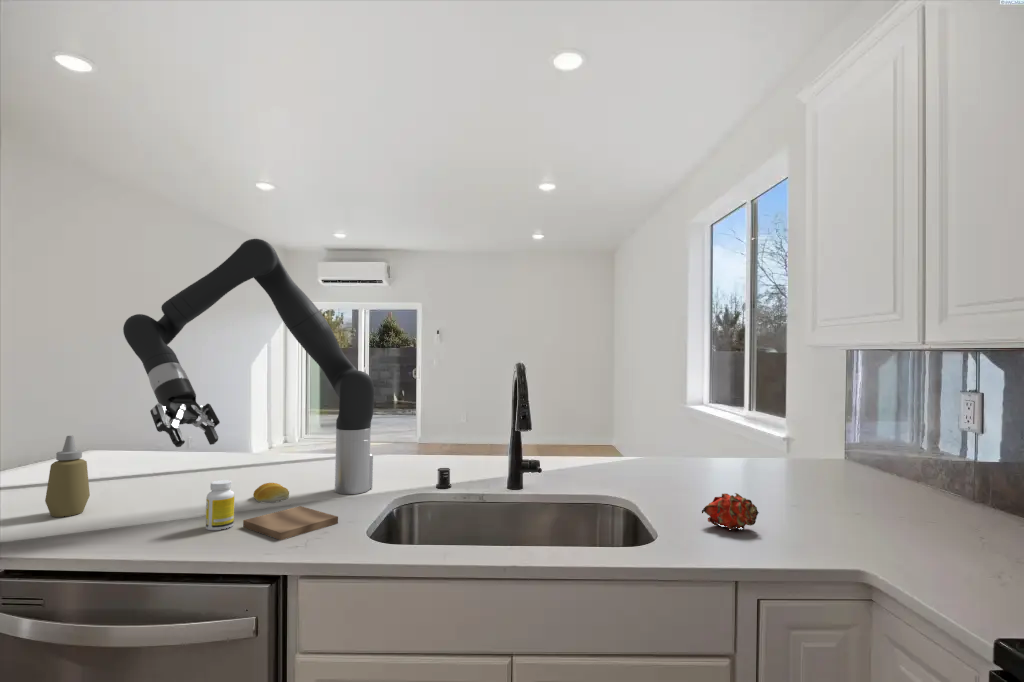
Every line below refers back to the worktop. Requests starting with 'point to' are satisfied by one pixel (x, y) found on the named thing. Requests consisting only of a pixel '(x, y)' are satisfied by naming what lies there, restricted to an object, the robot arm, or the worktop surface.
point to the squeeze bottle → (68, 482)
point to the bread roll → (271, 493)
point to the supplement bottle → (220, 506)
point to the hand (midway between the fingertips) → (198, 443)
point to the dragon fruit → (731, 511)
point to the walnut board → (290, 522)
